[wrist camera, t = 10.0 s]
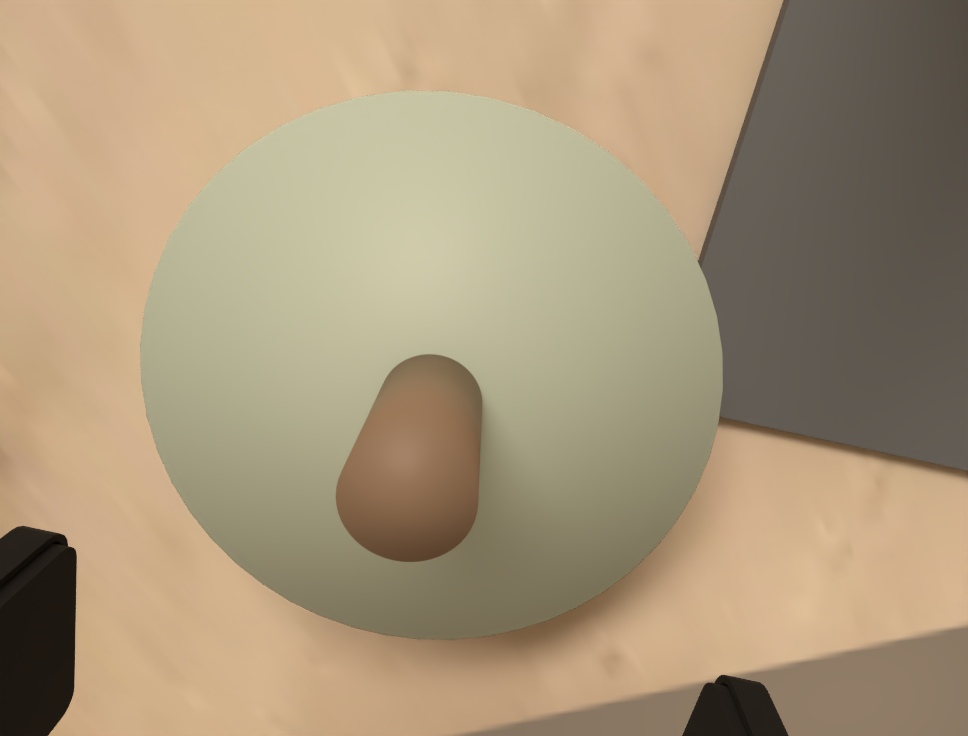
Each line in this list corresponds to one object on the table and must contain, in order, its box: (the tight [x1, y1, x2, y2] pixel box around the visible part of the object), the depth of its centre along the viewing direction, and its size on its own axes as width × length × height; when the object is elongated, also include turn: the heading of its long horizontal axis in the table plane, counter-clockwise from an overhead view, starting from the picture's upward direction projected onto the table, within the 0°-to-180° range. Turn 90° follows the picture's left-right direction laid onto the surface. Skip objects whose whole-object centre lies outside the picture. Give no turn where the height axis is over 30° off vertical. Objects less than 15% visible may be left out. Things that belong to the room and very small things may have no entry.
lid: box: [140, 91, 723, 640], centre depth 18 cm, size 18×18×7 cm
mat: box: [698, 0, 968, 471], centre depth 26 cm, size 17×17×1 cm
